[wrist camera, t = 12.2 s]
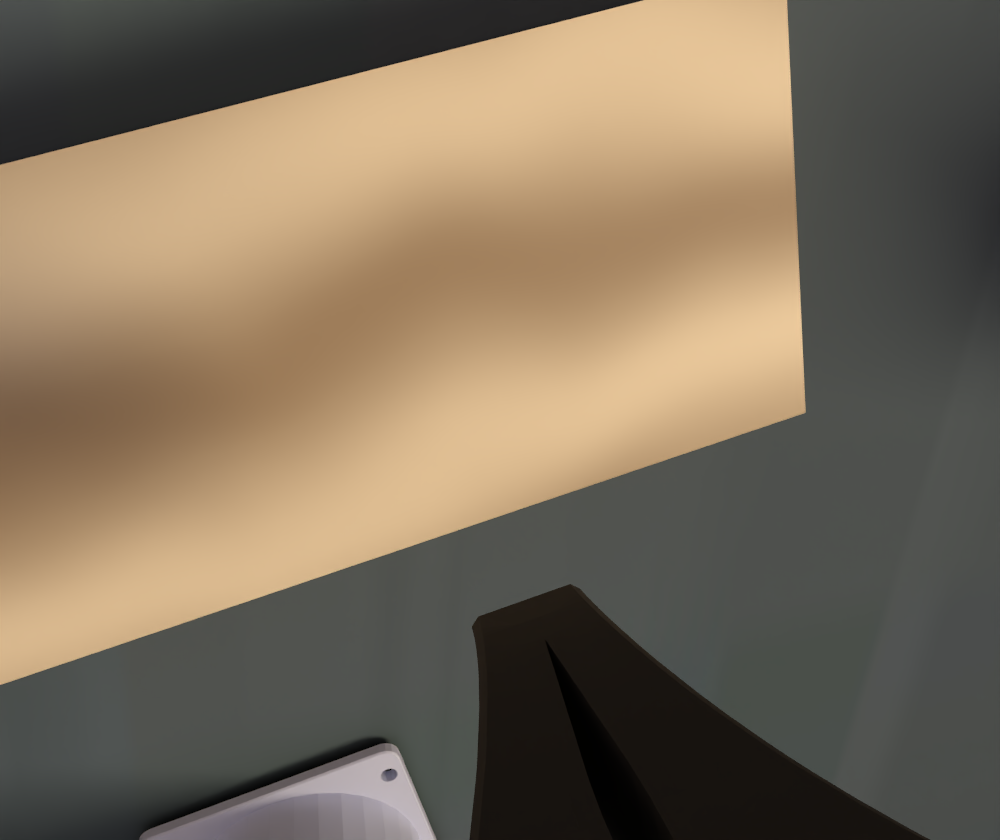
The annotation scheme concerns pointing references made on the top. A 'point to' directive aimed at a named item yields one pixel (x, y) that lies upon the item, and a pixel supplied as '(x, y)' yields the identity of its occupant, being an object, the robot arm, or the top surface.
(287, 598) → the top surface
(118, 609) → the board
